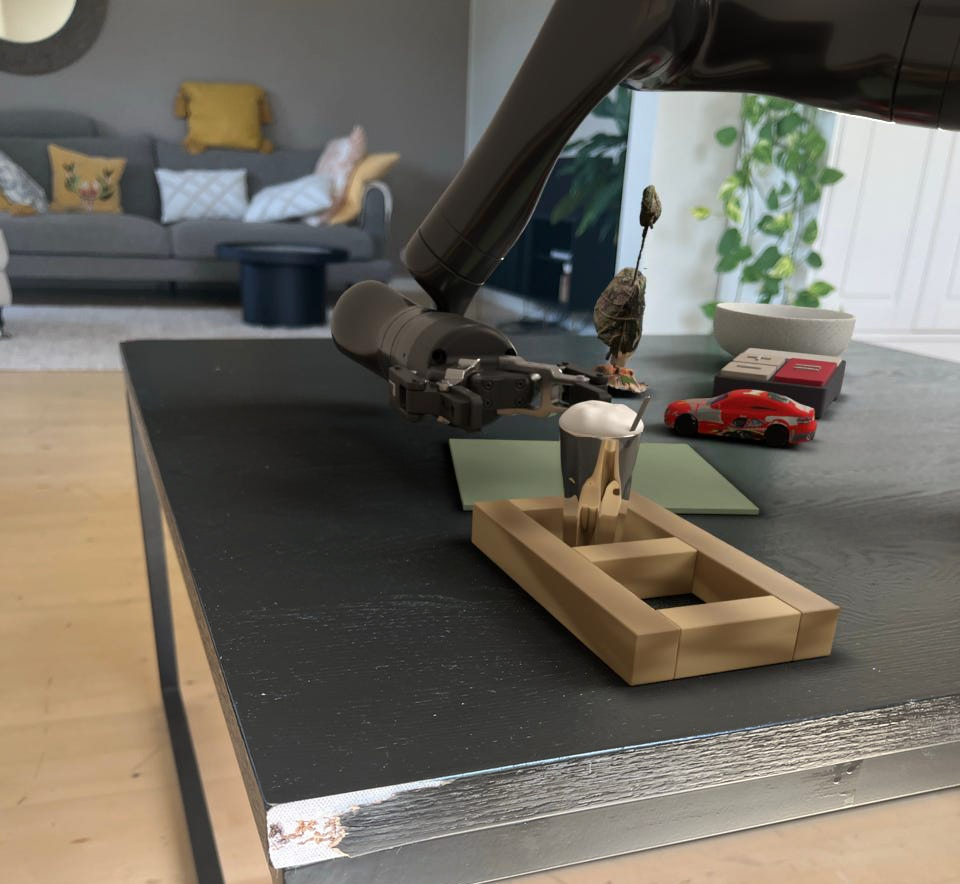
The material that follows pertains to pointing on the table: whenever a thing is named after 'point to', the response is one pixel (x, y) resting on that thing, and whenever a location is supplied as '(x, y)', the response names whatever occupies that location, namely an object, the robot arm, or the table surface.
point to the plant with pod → (625, 309)
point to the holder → (655, 592)
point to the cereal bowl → (782, 328)
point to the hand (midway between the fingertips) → (542, 413)
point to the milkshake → (597, 470)
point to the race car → (744, 417)
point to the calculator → (785, 376)
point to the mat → (536, 473)
